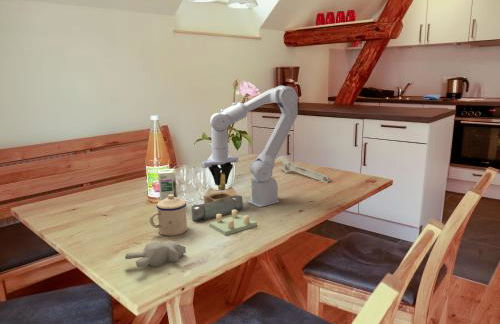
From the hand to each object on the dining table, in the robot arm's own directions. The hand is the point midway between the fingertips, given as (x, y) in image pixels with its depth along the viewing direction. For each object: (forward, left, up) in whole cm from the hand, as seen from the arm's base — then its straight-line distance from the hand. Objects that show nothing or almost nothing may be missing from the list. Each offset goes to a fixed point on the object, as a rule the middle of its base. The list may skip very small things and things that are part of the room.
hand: (221, 184), depth 145 cm
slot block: (-1, -3, -8) cm, 9 cm away
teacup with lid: (+25, +9, -9) cm, 28 cm away
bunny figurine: (+37, +26, -9) cm, 46 cm away
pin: (0, 0, -2) cm, 2 cm away
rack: (+7, +18, -8) cm, 21 cm away
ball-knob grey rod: (+5, +6, -8) cm, 12 cm away
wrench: (-51, -11, -9) cm, 52 cm away
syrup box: (+16, -10, -9) cm, 21 cm away
